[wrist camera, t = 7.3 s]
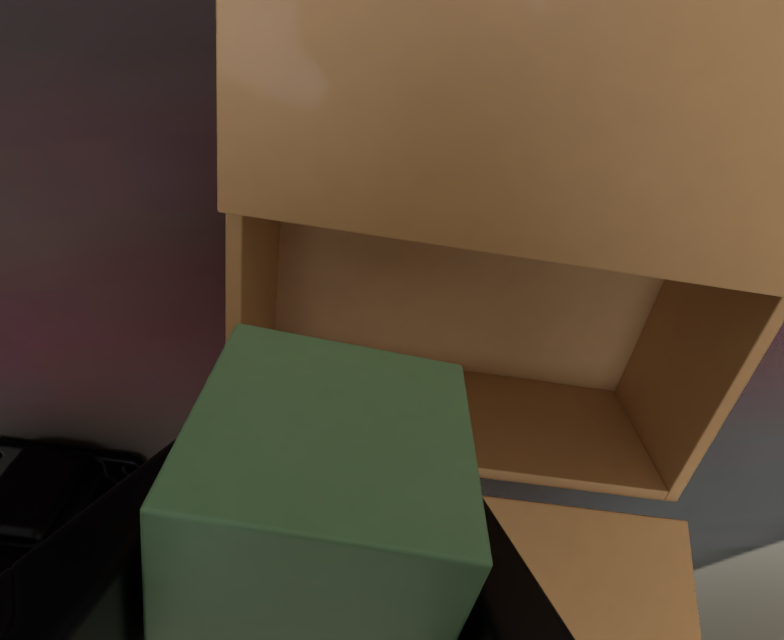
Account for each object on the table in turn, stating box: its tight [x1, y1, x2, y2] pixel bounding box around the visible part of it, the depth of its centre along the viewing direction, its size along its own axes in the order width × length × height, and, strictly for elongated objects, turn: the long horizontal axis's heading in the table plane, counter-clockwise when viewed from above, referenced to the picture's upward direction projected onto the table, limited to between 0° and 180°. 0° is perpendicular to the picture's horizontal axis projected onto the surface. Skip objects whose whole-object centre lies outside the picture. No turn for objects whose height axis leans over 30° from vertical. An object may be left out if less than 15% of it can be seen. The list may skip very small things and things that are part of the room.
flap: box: [482, 496, 701, 640], centre depth 14 cm, size 7×14×1 cm
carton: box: [216, 0, 784, 502], centre depth 15 cm, size 15×14×6 cm
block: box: [140, 323, 493, 640], centre depth 9 cm, size 4×4×4 cm
